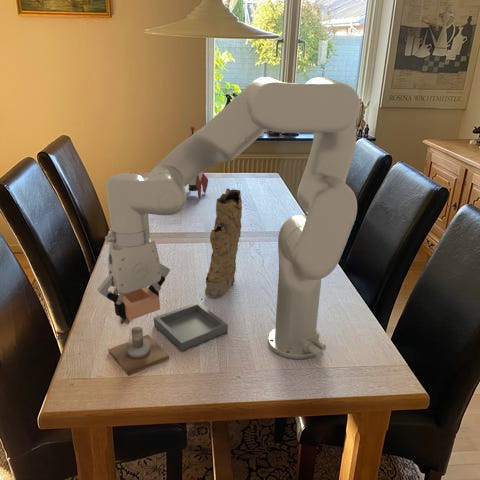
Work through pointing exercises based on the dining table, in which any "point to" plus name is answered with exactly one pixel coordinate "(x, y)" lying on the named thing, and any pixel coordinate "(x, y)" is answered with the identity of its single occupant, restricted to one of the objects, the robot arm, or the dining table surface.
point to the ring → (140, 303)
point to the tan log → (224, 243)
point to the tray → (190, 326)
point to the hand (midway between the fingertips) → (138, 310)
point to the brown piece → (138, 353)
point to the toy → (198, 180)
